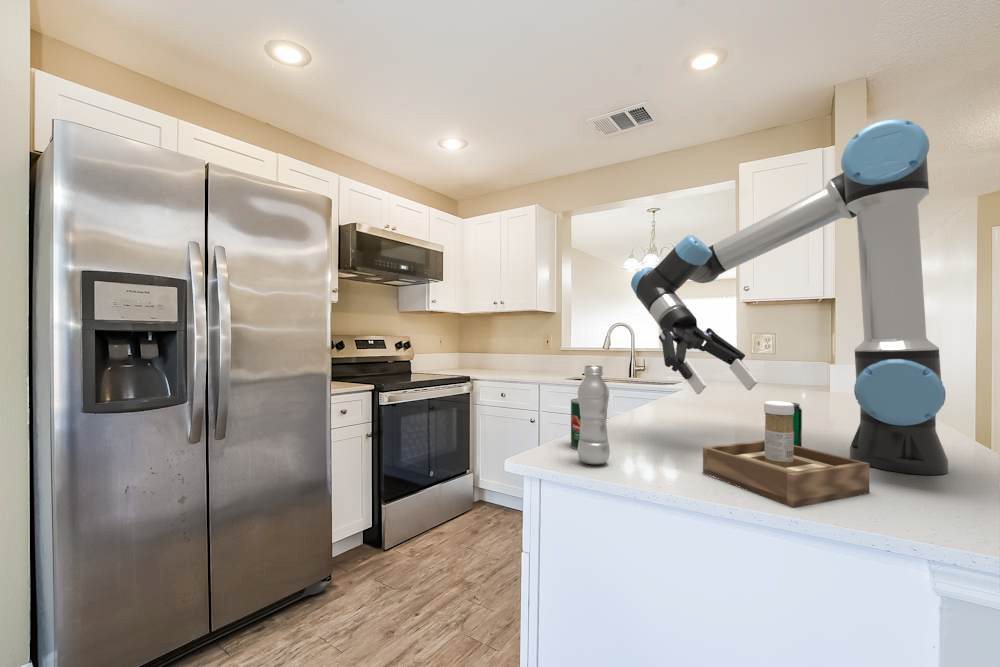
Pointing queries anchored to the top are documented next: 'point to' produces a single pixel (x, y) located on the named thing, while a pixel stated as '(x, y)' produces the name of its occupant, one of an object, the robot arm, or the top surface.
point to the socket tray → (787, 473)
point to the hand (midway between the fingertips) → (728, 388)
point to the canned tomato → (575, 423)
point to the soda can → (797, 424)
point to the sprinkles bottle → (779, 433)
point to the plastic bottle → (593, 417)
